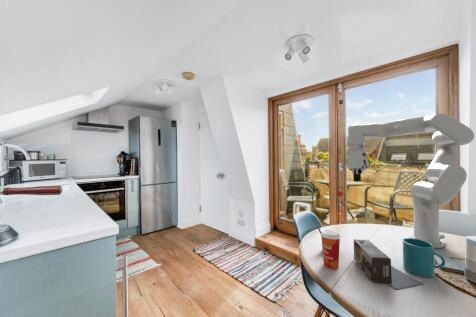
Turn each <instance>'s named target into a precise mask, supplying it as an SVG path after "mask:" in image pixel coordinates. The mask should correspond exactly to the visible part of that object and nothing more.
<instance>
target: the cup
mask: <svg viewBox="0 0 476 317" xmlns="http://www.w3.org/2000/svg"><path fill="white" fill-rule="evenodd" d="M435 256H437V257H439V258H440V259H441V263H440V264H435ZM402 260H403V262H402V265H403V268H404V270H406V271H407V272H409V273H410V274H412V275H416V276H419V277H423V278H432V277H434V276H435V269H442V268H443V267H445V266H446V259H445V258H444V256H443V255H442V254H440V253H438V252H437V251H435V248H434V246H433V245H432V244H431V243H429V242H426V241H423V240H419V239H414V238H410V237H406V238H403V239H402Z"/></svg>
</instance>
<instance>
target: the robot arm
mask: <svg viewBox="0 0 476 317" xmlns="http://www.w3.org/2000/svg"><path fill="white" fill-rule="evenodd" d="M428 133H429V134H430V133H434V134H433V135H432V137H431V138H432V139H431V140H432V143H433V144H434V146H435V148H436V149H435V150H436V155H435V156H434V158H433V159H432V161H431V162H430V164H429V165H428V167H427V169H425V172H424V176H425V178H426V179H427V180H428V181H417V182H415V183H413V184H412V186H411V188H410V194H411V199H412V206H413V207H412V208H413V235H412V236H410V237H409V238H414V239H419V240H423V241H426V242H429V243H431V244H432V245H433V246H434V249H442V248H444V247H445V243H444V242H442V241H441V240H442V239H443V240H444V239H446V236H445V235H444V234H440V210H439V205H446V204H449V203H450V202H452V201H453V200H454V199H455V197H456V195H457V194H458V193H459V191H460V190H461V188H462V187H463V186H464V184H465V183H466V180H467V176H468V175H467V170H466V169H465V168H464V167H463V166H461V165H459V164H458V163H459V162H460V159H461V152H460V150H459V148H458V146H465V145H468V144H470V143H472V141H474V139H475V133H474V131H473V130H472V129H471V128H470V127H468V126H467V125H465V124H464V123H462V122H460V121H459V120H457V119H455V118H453V117H452V116H450V115H447V114H445V113H434V114H431V115H426V116H419V117H411V118H402V119H396V120H393V121H389V122H386V123H385V122H384V123H377V122H376V123H375V122H372V123H367V124H352V125H349V126H348V128H347V136H348V140H347V141H348V151H347V156H346V159H347V160H346V164H347V168H348V170H349V171H351V173H352V176H353V177H352V178H353V182H361V181H362V174H363V172H366V171H367V169H369V158H368V157H369V156H368V153H367V150H366V145H365V143H366V142H365V141H366V140H370V139H378V138H379V139H380V138H387V137H388V138H389V137H401V136H410V135H420V134H428ZM429 181H430V182H429Z"/></svg>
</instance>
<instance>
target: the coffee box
mask: <svg viewBox="0 0 476 317" xmlns="http://www.w3.org/2000/svg"><path fill="white" fill-rule="evenodd" d="M353 260H354V261H355V262H356V263H357V264H358V265H357V264H356V265H357V266H358V267H360V268H361V269H362V271H363V272H364V273H365V275H366V276H367V277H368V279H369V280H371V282H372V283H380V284H386V283H390V284H392V276H391V266H392V259H391V258H390V257H389V256H388V255H387V254H386V253H384V252H383V251H382V250H381V249H380V248H378V247H377V246H376V245H375V244H374V243H373V242H371V240H369V239H356V238H355V239H353Z"/></svg>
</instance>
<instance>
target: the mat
mask: <svg viewBox="0 0 476 317" xmlns="http://www.w3.org/2000/svg"><path fill="white" fill-rule="evenodd" d="M355 264H356V265H357V266H359V265H358V264H357V262H356V263H355ZM391 276H392V284H390V283H385V284H386V285H388V286H390V287H391V288H392V289H394V290H402V289H407V288H412V287H417V286H422V285H424V282H421V281H420V280H418V279H416V278H414V277H413V276H411V275H409V274H407V273H405V272H403V271H401V270H400V269H398V268H396V267H394V266H392V265H391Z"/></svg>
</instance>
